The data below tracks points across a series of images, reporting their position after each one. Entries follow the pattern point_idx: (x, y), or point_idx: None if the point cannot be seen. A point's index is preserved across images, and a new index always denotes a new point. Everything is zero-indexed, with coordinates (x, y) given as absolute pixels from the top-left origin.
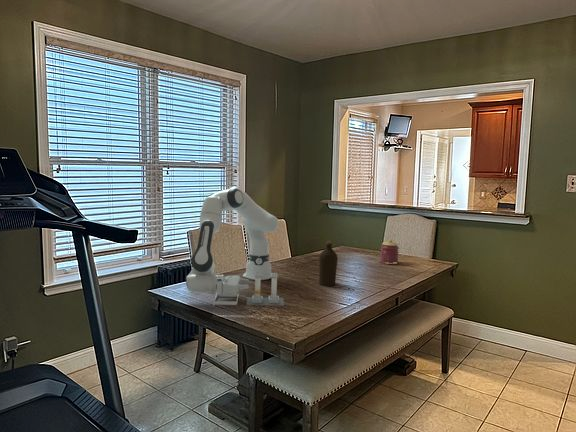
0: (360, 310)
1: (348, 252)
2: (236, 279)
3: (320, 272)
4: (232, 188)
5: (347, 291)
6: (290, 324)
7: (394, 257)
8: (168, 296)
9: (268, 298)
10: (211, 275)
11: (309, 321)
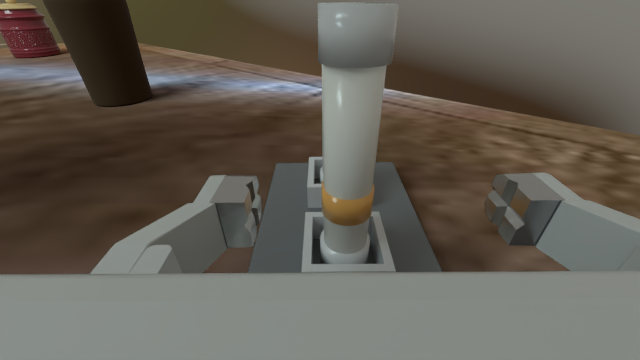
0: None
1: None
2: (343, 342)
3: (103, 61)
4: None
5: (215, 86)
6: (592, 161)
7: (52, 37)
8: None
9: (314, 200)
10: None
11: (510, 131)
